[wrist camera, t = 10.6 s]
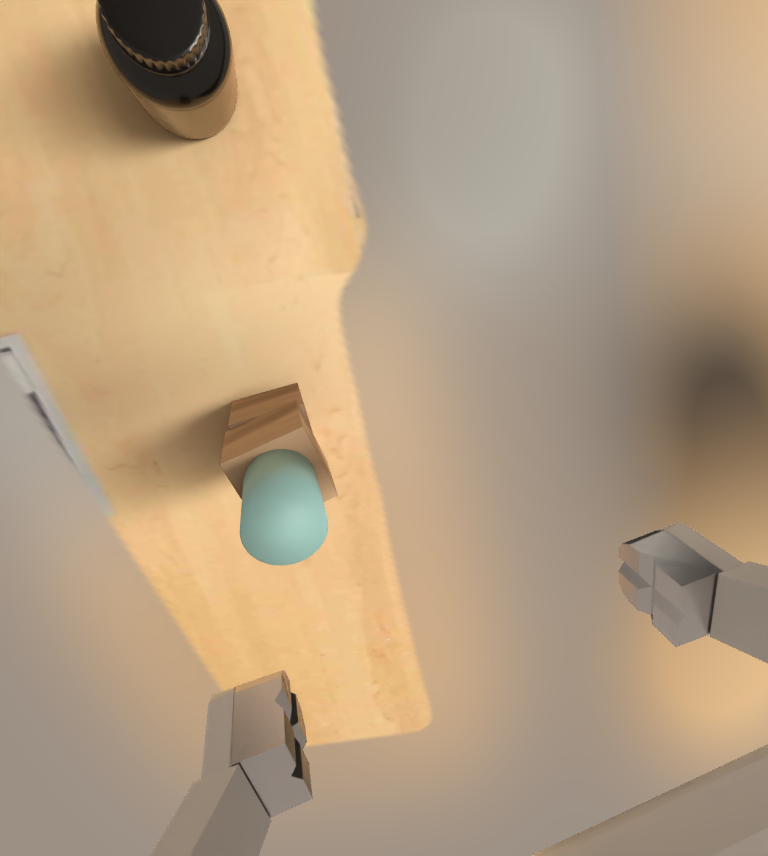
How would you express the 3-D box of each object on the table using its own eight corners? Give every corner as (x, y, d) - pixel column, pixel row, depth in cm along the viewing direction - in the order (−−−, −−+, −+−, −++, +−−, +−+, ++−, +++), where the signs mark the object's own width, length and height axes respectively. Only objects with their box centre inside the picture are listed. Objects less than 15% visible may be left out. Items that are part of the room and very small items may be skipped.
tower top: (225, 431, 36) (219, 464, 31) (295, 399, 37) (302, 426, 31) (260, 491, 39) (261, 531, 33) (326, 460, 39) (337, 495, 34)
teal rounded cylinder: (232, 461, 31) (227, 507, 25) (305, 439, 32) (315, 479, 26) (256, 522, 33) (256, 576, 27) (324, 500, 34) (337, 549, 28)
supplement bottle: (258, 102, 34) (258, 35, 23) (186, 161, 34) (153, 122, 23) (188, -1, 31) (150, -133, 20) (110, 64, 31) (31, -32, 20)
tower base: (231, 401, 41) (227, 425, 36) (297, 382, 42) (302, 403, 37) (253, 459, 44) (253, 489, 38) (315, 440, 45) (322, 467, 39)
